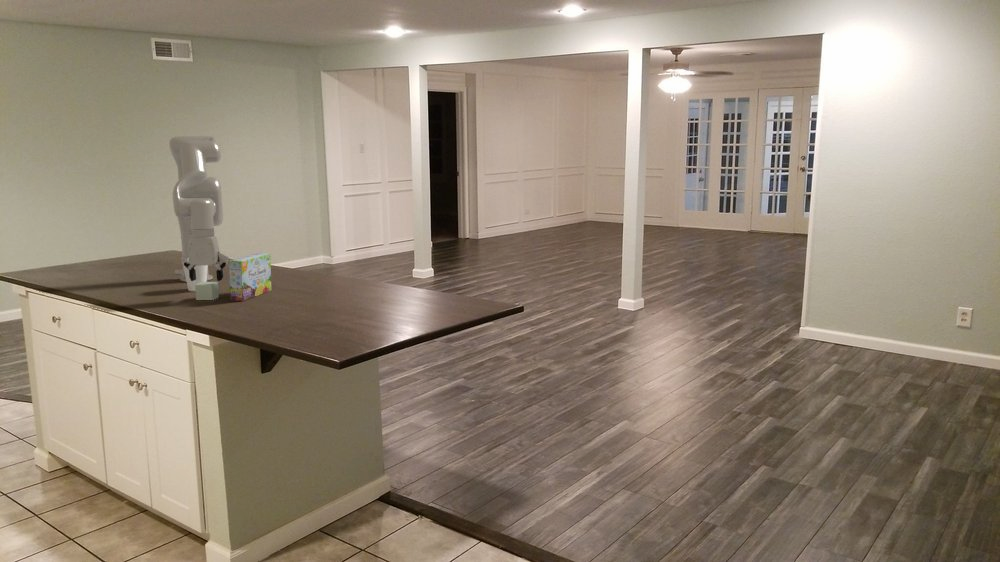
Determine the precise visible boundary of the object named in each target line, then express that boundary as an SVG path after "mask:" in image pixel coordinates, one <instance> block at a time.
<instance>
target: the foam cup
mask: <svg viewBox="0 0 1000 562" xmlns="http://www.w3.org/2000/svg"><path fill="white" fill-rule="evenodd" d="M187 262H188V263H189V258H188V259H187ZM181 264H182V266H183V267H182V269H183V268H184V273H185V277H186V282H185V283H186V286H187V289H188V291H189V292H196V291H195V285H196V284H198V283H200V282H208V280H207V267H208V268H209V265H196V266H195V267H194V269H195V271H196V280H194V281H191V278H190V277H189V270H188V269H187V268H186V267H185V266H184V264H183V262H182V261H181Z"/></svg>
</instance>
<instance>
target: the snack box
mask: <svg viewBox="0 0 1000 562" xmlns="http://www.w3.org/2000/svg"><path fill="white" fill-rule="evenodd" d="M271 266H272V264H271V253H269V252H256V253H253V254H249V255H245V256H241V257H237V258H234V259H229V260H228V268H229V269H228V270H229V271H228V272H229V273H228V274H229V293H230V295H229V296H230V301H233V302H244V301H246V300H250V299H253V298H255V296H256V297H258V296H261V295H263V293H264V294H266V293H268V291H269V292H271V291H272V267H271ZM260 294H261V295H260Z"/></svg>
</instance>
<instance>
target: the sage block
mask: <svg viewBox="0 0 1000 562" xmlns="http://www.w3.org/2000/svg"><path fill="white" fill-rule="evenodd" d="M194 292H195V301H196V300H213V301H215V300H217V299H219V298H220V295H219V294H220V293H219V292H220V291H219V281H206V282H200V283H198V284H196V285H195V291H194ZM218 297H219V298H218ZM216 298H217V299H216ZM214 299H215V300H214Z"/></svg>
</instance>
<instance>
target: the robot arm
mask: <svg viewBox="0 0 1000 562" xmlns="http://www.w3.org/2000/svg"><path fill="white" fill-rule="evenodd" d="M169 149H170V150H169V151H170V153H171V155H172V158H173V160H174V161H175V163H176V166H177V175H178V180H177V182H176V183H175V185H174V187H173V190H172V204H173V211H174V214H175V216H176V218H177V221H178V225H179V231H180V240H181V253H182V254H181V255H182V257H181V258H180V261H181V263H182V262H183V264H184V266H185V267H186V268H187V269H188V270H189V277H190V278H191V281H194V280H196V271H195V269H194V267H195V266H196V265H208V267H207V281H210V280H212V279H213V278H214V277H213V275H212V274H209V266H214V267H215V268H216V270H215V271H216V282H221V281H222V280H223V278H224V271H223V270H224V269H225V267H226V266H227V265H228V264H229V260H230V257H229V256H227V255H225V254H223V253H220V245H219V242H218V238H217V237H216V236H215V227H219V226H220V225H221V224H222V223H223V222H224V221H223V219H224V216H223V215H224V214H223V213H224V211H223V197H222V196H223V195H222V185H221V183H220V181H219V179H218V178H216V177H214V176H213V177H212V176H208V172H207V166H206V163H209V164H211V163H218V162H219V161H220V160H221V157H222V152H221V151H222V150H221V147H220V144H219V142H218V141H217V139H216V138H215V137H214V136H209V135H207V136H206V135H200V136H199V135H179V136H173V137H171V138H170V140H169ZM188 258H189V263H188V262H187V259H188ZM221 259H222V260H223V262H222V263H221ZM183 264H182V265H183ZM174 275H176V276H179V275H180V276H181V277H180V278H179V279H180V281H181V282H184V283H187V282H186V277H185V273H184V268H183V267H182V269H175V270H174Z"/></svg>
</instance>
